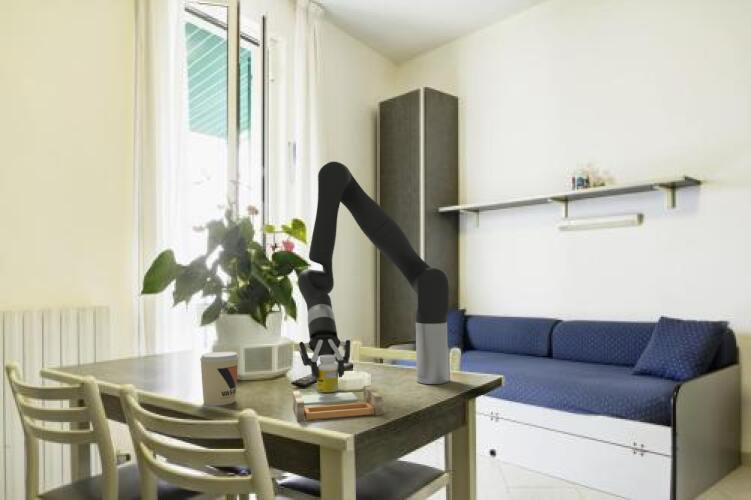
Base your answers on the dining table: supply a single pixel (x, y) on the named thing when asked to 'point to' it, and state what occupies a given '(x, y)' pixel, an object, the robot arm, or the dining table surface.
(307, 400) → the mat
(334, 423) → the dining table surface
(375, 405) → the tunnel walls
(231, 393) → the coffee cup
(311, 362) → the robot arm
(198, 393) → the dining table surface
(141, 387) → the dining table surface
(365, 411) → the orange rectangular tray
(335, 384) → the supplement bottle
